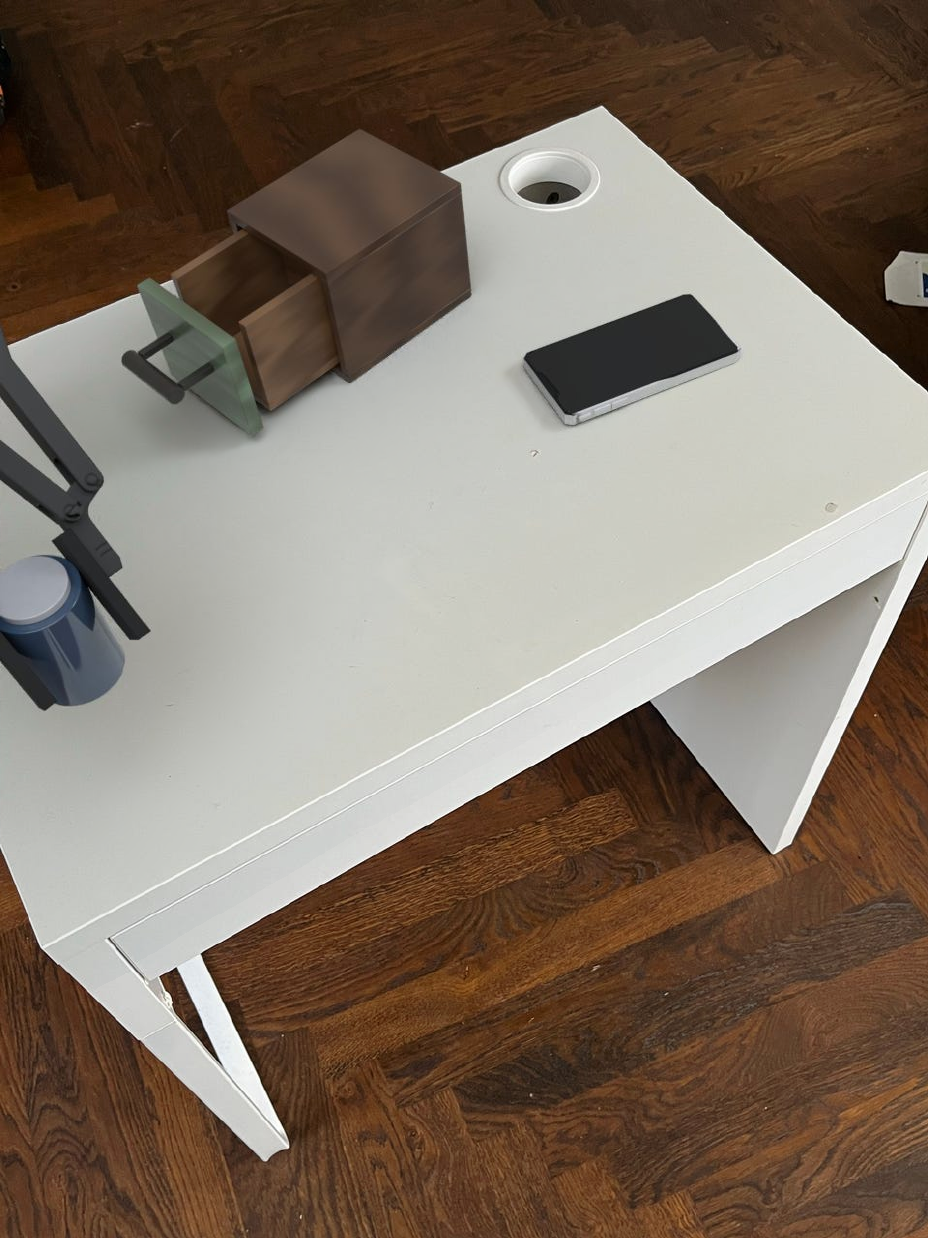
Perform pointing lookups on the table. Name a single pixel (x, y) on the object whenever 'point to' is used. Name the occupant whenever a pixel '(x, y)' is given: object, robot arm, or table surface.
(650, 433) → the table surface
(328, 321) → the drawer
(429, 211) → the cabinet
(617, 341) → the smartphone
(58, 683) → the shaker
